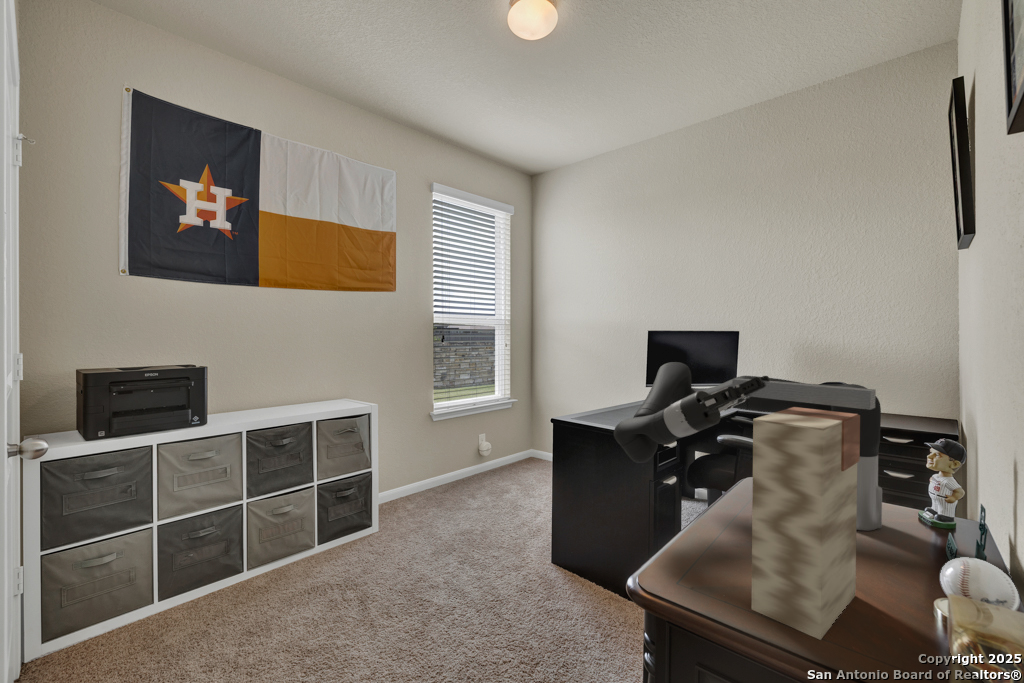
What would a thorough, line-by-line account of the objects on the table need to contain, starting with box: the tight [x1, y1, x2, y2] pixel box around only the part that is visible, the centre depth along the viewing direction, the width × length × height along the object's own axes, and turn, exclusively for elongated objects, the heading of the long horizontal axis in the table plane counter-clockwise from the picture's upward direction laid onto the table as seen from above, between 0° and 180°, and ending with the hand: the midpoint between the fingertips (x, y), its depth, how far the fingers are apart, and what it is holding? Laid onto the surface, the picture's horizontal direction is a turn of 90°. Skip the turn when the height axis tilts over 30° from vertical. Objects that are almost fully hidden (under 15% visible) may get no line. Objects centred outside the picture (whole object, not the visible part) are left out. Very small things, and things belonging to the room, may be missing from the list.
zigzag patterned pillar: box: [751, 407, 860, 641], centre depth 79 cm, size 10×18×32 cm, turn 130°
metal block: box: [732, 378, 876, 410], centre depth 83 cm, size 22×3×3 cm, turn 40°
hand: (765, 381), depth 88 cm, fingers closed on metal block, 3 cm apart
